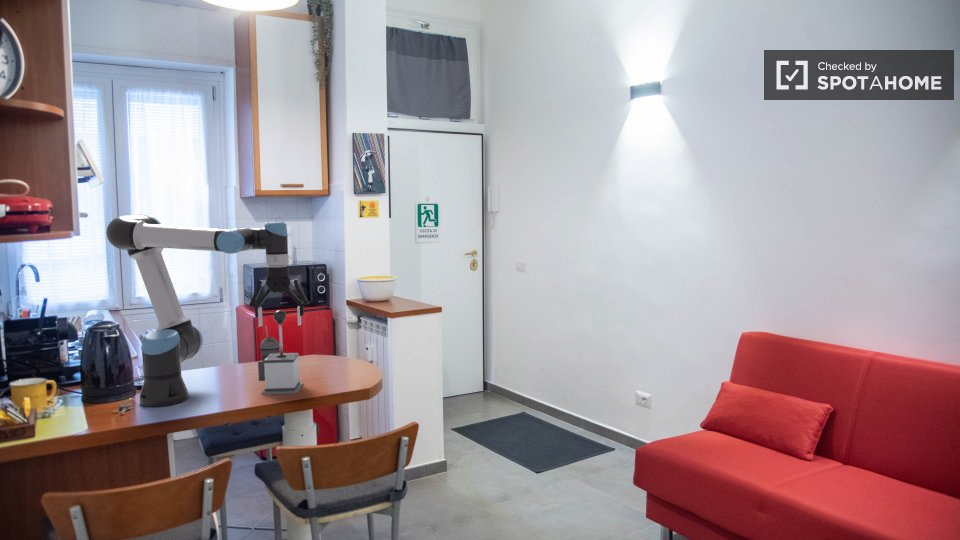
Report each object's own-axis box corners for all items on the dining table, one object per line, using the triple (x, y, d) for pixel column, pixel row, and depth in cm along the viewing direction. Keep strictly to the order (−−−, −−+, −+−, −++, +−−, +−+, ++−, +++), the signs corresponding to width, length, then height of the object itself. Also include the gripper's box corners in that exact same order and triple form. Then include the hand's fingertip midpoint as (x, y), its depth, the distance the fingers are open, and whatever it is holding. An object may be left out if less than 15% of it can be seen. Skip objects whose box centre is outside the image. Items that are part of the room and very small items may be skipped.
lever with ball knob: (268, 367, 240) (265, 312, 238) (273, 361, 248) (270, 308, 246) (291, 366, 241) (288, 311, 239) (295, 361, 249) (293, 308, 247)
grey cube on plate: (255, 394, 239) (253, 361, 238) (263, 385, 251) (262, 353, 250) (296, 393, 240) (295, 360, 239) (303, 384, 252) (301, 352, 251)
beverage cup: (275, 380, 258) (272, 328, 255) (257, 379, 259) (254, 327, 257) (284, 375, 265) (282, 324, 262) (267, 374, 266) (264, 323, 264)
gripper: (238, 267, 236) (241, 328, 238) (311, 266, 238) (314, 326, 240) (244, 265, 243) (247, 324, 246) (315, 264, 245) (317, 322, 248)
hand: (280, 325), depth 243 cm, fingers open, 13 cm apart
